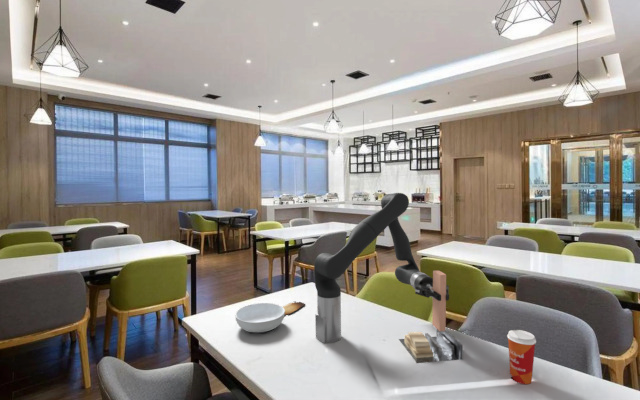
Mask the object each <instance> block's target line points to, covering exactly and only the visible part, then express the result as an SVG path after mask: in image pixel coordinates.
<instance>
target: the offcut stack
mask: <svg viewBox="0 0 640 400" xmlns="http://www.w3.org/2000/svg"><path fill="white" fill-rule="evenodd" d="M403 339H404V343H405V344H406V345H407V347H408V348H409V349H410V351H411V352H412V353H413V354H414V356H415V357H416V358H423V357H433V351H432V350H431V349H430V344H429V341H428V340H427V339H426V337H425V334H424V333H423V332H422V331H410V332H409V331H408V334H404V338H403Z"/></svg>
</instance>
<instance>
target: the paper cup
mask: <svg viewBox="0 0 640 400" xmlns="http://www.w3.org/2000/svg"><path fill="white" fill-rule="evenodd" d="M506 338H507V340H508V341H507V343H508V359H509V360H508V361H509V374H510V379H511V380H512V381H514V382H515V383H518V384H520V385H530V384H531V383H532V381H533V372H534V371H533V369H534V361H535V360H534V359H535V350H536V348H535V347H536V346H535V345H536V343H537V339H536V336H535V335H534V334H533V333H531V332H529V331H525V330H522V329H513V330H512V329H511V330H509V331H508V334H506Z"/></svg>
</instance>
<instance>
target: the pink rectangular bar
mask: <svg viewBox="0 0 640 400" xmlns="http://www.w3.org/2000/svg"><path fill="white" fill-rule="evenodd" d="M432 278H433V290H435V292H437V293H439V294H441V301H438V300H437V299H435V298H432V320H431V321H432V323H431V324H432V326H433V327H434V328H435V329H436V330H437V329H438V330H439V331H445V330H446V327H447V325H446V316H447V315H446V314H447V313H446V312H447V309H446V308H447V301H446V285H447V274H446V273H444V272H443V271H440V269H439V270H433V271H432Z"/></svg>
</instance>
